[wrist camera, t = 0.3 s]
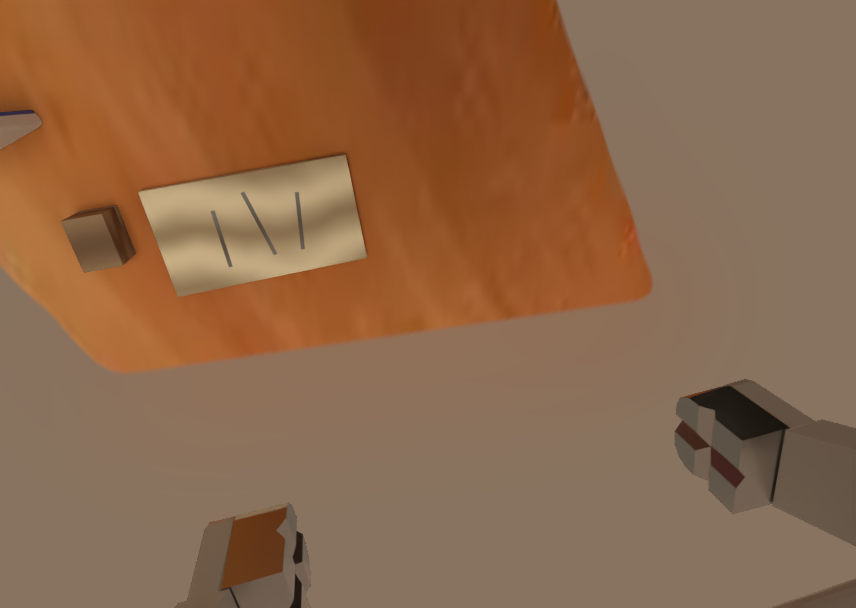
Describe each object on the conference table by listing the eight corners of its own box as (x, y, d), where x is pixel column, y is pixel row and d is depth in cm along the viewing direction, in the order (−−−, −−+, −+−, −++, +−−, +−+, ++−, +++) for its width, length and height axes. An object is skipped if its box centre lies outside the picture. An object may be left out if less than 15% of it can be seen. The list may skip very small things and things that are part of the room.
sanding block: (78, 211, 49) (60, 221, 46) (116, 205, 50) (101, 213, 46) (99, 260, 51) (83, 273, 48) (136, 253, 52) (123, 265, 48)
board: (141, 189, 50) (138, 192, 49) (345, 153, 52) (345, 154, 51) (180, 292, 54) (177, 296, 53) (366, 254, 57) (367, 257, 56)
